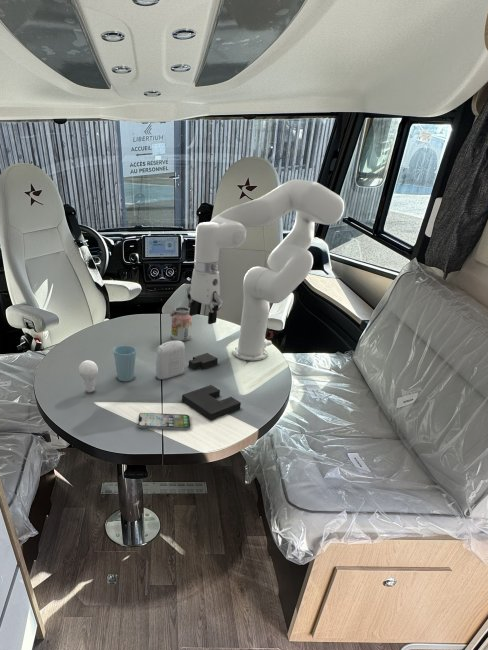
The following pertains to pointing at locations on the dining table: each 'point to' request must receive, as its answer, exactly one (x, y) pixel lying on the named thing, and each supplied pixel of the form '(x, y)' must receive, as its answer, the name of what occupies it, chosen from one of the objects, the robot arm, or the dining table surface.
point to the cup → (125, 362)
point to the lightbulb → (88, 374)
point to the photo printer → (170, 359)
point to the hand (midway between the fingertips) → (202, 319)
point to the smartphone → (164, 421)
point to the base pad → (210, 402)
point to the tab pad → (203, 361)
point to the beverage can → (181, 324)
